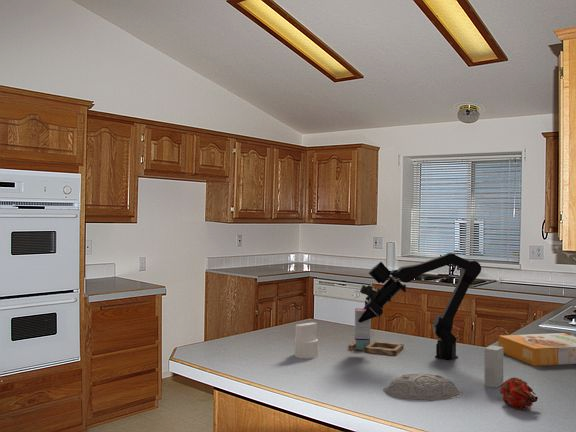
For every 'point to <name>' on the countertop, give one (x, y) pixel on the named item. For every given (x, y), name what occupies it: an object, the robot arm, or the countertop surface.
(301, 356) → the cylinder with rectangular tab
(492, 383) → the skincare box
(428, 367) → the countertop surface
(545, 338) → the cereal box
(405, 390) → the grey oval domed piece
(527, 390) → the dragon fruit
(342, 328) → the countertop surface
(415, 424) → the countertop surface
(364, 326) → the supplement box
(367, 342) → the wing block
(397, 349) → the cradle
